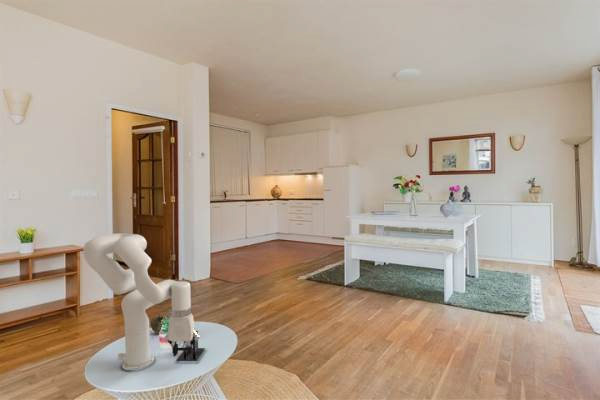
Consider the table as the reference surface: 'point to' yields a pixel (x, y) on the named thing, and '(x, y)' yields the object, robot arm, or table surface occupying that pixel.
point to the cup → (156, 324)
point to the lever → (182, 347)
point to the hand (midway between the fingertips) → (182, 354)
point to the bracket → (195, 352)
